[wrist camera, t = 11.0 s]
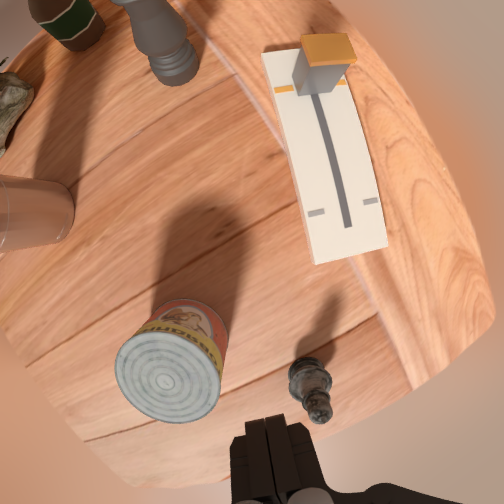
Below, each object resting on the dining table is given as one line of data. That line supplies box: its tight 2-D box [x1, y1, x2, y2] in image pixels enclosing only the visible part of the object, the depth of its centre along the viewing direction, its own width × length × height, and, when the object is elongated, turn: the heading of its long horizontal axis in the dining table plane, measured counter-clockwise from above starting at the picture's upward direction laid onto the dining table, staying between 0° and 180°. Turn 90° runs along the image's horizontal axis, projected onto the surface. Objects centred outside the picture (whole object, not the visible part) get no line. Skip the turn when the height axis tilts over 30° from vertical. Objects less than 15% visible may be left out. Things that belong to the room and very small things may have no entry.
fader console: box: [261, 48, 388, 265], centre depth 35 cm, size 28×10×3 cm, turn 13°
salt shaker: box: [288, 357, 333, 424], centre depth 34 cm, size 6×6×12 cm
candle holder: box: [110, 0, 199, 86], centre depth 23 cm, size 6×6×25 cm
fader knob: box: [292, 33, 357, 96], centre depth 28 cm, size 3×5×10 cm
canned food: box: [115, 299, 228, 424], centre depth 33 cm, size 11×11×12 cm
